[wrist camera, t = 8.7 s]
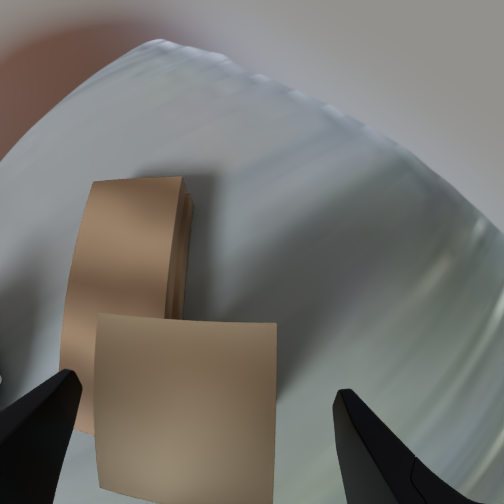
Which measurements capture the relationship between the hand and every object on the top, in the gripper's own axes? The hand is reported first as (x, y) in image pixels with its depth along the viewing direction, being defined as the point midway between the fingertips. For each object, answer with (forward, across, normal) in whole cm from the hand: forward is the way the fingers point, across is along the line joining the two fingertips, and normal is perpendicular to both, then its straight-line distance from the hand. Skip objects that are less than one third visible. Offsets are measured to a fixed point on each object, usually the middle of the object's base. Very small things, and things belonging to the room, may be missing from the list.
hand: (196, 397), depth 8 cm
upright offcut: (+6, 0, +7) cm, 9 cm away
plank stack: (+9, +6, +4) cm, 12 cm away
